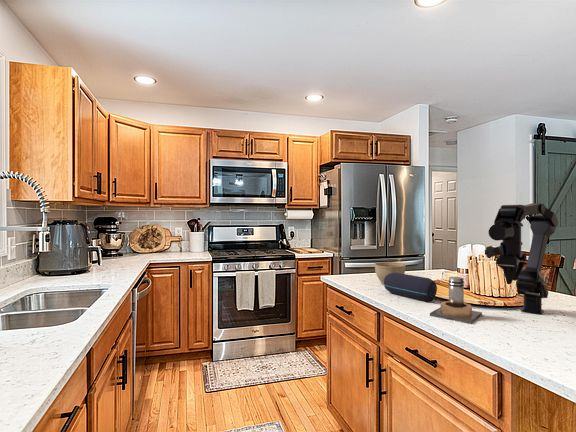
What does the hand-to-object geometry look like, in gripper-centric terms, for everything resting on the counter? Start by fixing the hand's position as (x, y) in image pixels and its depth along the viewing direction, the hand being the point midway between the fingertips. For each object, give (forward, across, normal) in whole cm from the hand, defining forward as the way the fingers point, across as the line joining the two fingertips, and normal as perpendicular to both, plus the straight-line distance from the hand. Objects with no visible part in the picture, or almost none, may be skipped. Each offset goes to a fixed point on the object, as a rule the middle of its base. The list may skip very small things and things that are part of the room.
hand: (511, 282), depth 126 cm
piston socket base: (+13, +10, -16) cm, 23 cm away
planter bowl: (+13, -26, -61) cm, 68 cm away
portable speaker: (+13, -7, -41) cm, 44 cm away
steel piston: (+12, +10, -16) cm, 22 cm away
